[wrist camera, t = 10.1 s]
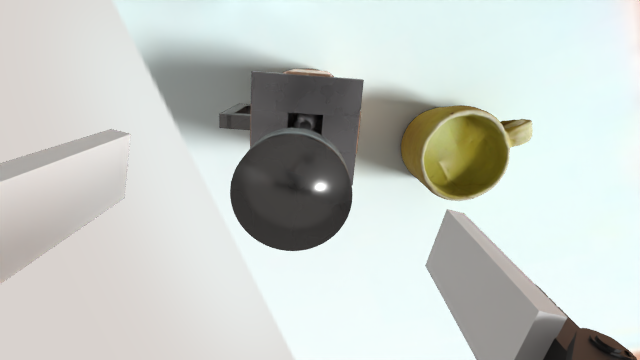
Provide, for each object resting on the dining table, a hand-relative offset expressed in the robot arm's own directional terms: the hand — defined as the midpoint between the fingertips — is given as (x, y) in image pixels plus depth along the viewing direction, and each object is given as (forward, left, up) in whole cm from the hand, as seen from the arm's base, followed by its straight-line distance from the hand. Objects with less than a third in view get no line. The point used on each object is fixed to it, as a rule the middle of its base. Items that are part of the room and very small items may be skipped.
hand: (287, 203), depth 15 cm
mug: (-1, +17, -28) cm, 33 cm away
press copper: (0, -1, -28) cm, 28 cm away
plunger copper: (0, 0, -18) cm, 18 cm away
